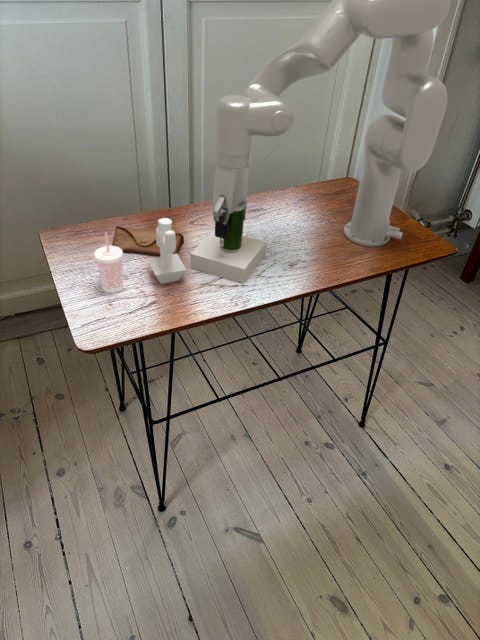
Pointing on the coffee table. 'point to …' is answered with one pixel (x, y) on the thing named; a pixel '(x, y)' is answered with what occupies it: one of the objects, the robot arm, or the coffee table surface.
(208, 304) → the coffee table surface
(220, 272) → the riser block
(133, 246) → the sunglasses case
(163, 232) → the figurine
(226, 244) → the beer can
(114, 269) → the beverage cup
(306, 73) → the robot arm
